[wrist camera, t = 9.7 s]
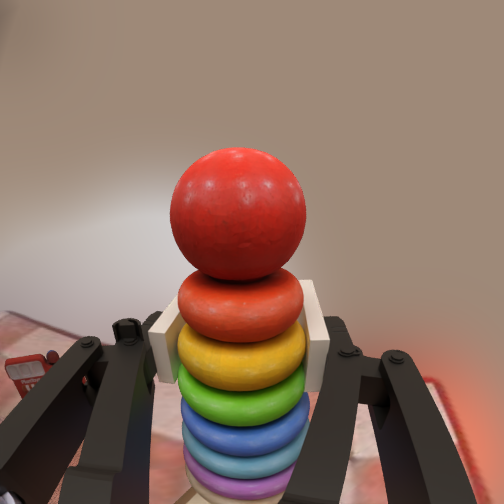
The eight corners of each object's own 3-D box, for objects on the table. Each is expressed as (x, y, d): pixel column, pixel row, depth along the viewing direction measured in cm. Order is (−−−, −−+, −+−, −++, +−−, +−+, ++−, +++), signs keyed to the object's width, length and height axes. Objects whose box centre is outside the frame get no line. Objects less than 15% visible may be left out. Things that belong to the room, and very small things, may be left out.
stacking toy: (281, 419, 19) (299, 159, 15) (326, 495, 12) (411, 152, 7) (180, 436, 17) (147, 157, 12) (200, 527, 10) (124, 128, 5)
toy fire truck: (97, 416, 32) (74, 361, 29) (29, 428, 25) (-2, 374, 22) (91, 389, 37) (72, 336, 35) (30, 400, 31) (5, 348, 28)
